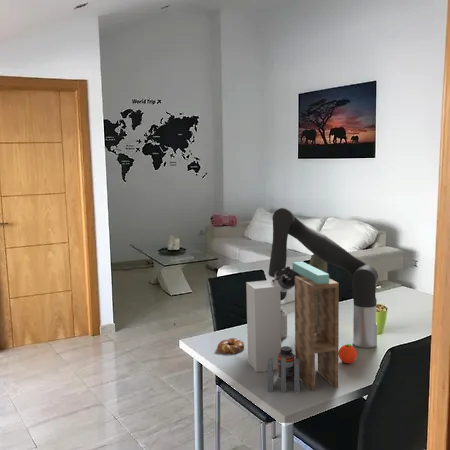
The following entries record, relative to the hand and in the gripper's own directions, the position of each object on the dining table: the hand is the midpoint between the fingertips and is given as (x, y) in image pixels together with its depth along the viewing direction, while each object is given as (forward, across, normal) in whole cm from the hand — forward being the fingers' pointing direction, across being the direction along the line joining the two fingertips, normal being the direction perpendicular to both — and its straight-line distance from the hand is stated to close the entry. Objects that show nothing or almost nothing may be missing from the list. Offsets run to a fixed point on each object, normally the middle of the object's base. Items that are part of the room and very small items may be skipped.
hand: (299, 267), depth 187 cm
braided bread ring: (-41, -21, +21) cm, 51 cm away
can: (-47, +3, +17) cm, 50 cm away
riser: (-23, -13, +31) cm, 41 cm away
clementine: (-17, +18, +35) cm, 43 cm away
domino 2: (-6, -13, +41) cm, 44 cm away
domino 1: (-7, -17, +40) cm, 44 cm away
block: (+7, 0, +6) cm, 9 cm away
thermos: (-49, +23, +16) cm, 57 cm away
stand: (-8, 0, +40) cm, 41 cm away
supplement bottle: (-12, -9, +37) cm, 40 cm away
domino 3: (-4, -9, +42) cm, 43 cm away
